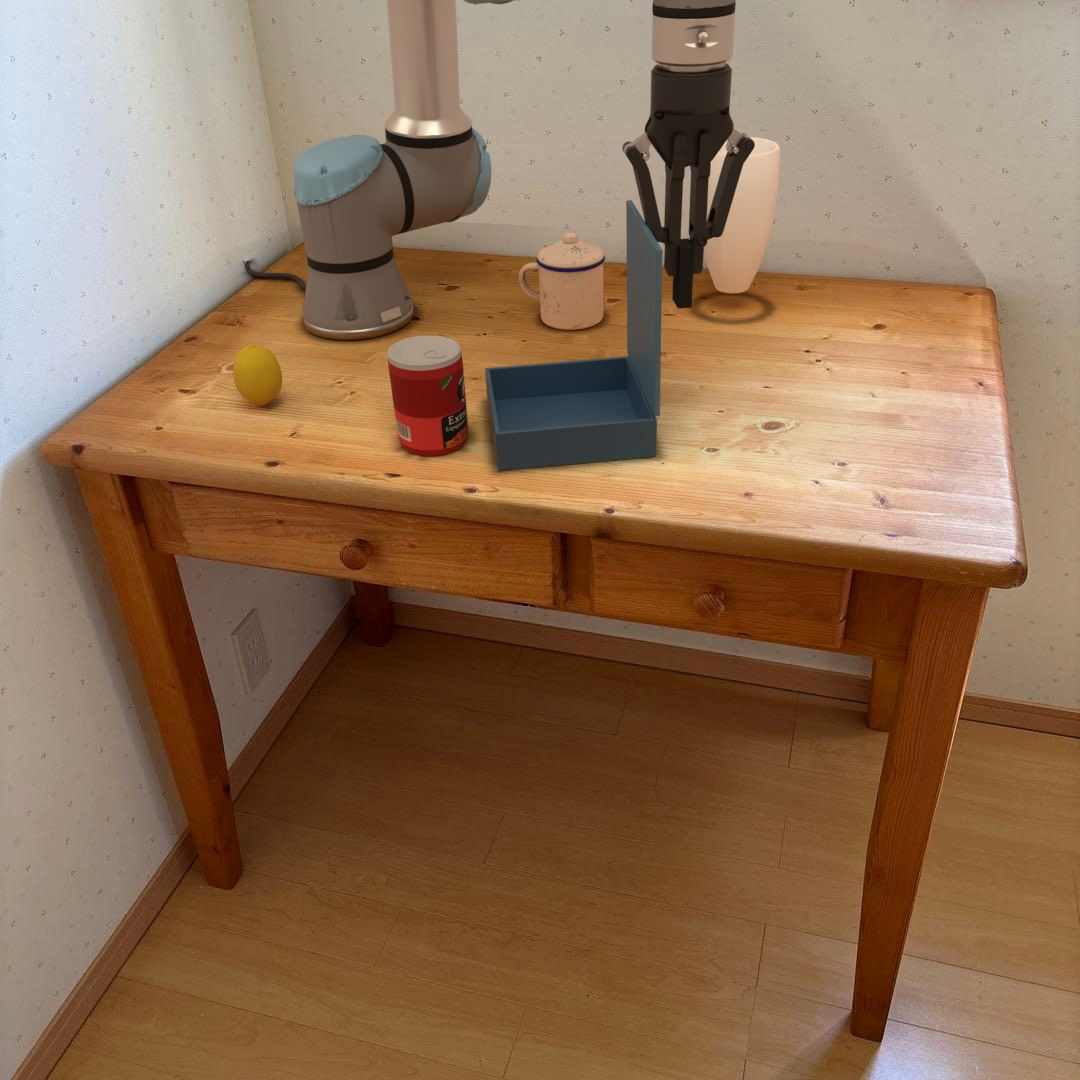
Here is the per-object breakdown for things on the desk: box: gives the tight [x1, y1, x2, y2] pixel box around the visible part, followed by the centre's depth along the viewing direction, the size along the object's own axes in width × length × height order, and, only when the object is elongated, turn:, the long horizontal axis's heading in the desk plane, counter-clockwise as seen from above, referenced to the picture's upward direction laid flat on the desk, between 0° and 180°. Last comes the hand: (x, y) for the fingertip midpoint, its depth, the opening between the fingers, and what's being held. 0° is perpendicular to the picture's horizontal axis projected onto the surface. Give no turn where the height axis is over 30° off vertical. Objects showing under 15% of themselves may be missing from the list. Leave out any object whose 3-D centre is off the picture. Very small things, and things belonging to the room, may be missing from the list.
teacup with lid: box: [518, 232, 606, 331], centre depth 141 cm, size 12×9×12 cm
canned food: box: [386, 334, 469, 457], centre depth 114 cm, size 8×8×11 cm
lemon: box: [232, 342, 283, 407], centre depth 124 cm, size 6×6×8 cm
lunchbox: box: [484, 355, 658, 472], centre depth 117 cm, size 17×16×4 cm
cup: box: [704, 136, 781, 294], centre depth 139 cm, size 10×10×22 cm
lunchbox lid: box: [625, 199, 663, 418], centre depth 111 cm, size 18×16×1 cm
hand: (681, 303), depth 111 cm, fingers closed
